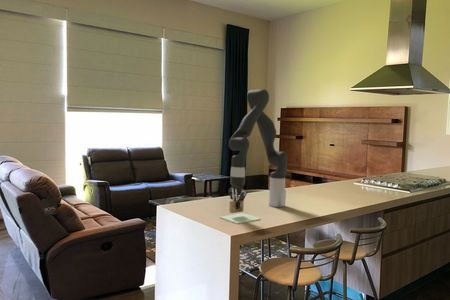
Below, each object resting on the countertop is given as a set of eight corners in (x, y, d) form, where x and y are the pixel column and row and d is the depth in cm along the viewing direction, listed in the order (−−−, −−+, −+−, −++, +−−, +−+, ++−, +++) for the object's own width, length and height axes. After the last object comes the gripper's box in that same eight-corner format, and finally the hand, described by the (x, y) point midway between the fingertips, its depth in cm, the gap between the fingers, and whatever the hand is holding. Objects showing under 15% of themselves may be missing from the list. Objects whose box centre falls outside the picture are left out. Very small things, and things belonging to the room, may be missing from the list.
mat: (243, 214, 208) (243, 213, 208) (260, 219, 197) (260, 218, 197) (219, 217, 198) (219, 216, 198) (236, 224, 187) (236, 222, 187)
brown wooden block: (241, 210, 203) (241, 199, 202) (243, 211, 201) (243, 200, 201) (229, 212, 198) (229, 201, 197) (231, 213, 196) (231, 201, 196)
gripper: (252, 176, 195) (250, 210, 196) (235, 173, 206) (233, 205, 207) (240, 177, 191) (239, 212, 192) (224, 174, 201) (222, 206, 202)
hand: (236, 208), depth 199 cm, fingers closed on brown wooden block, 1 cm apart
